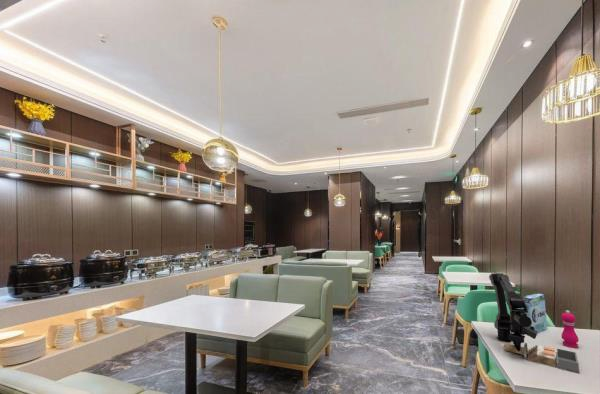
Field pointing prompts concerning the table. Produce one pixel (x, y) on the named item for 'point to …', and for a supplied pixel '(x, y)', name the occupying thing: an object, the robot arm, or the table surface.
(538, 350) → the bench
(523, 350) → the scraper
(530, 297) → the gum box
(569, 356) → the box
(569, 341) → the pepper mill
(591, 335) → the table surface
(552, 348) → the tile
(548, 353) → the tile
